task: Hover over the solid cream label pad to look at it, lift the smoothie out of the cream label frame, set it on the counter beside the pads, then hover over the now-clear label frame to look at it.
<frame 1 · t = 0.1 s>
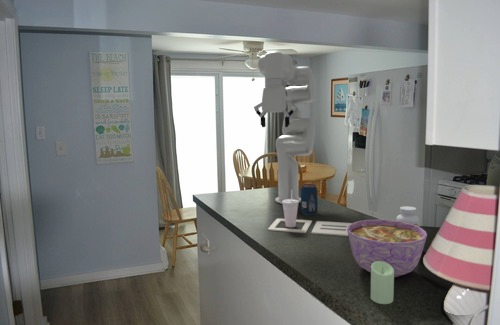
hand: (275, 127, 157), 37 cm above the kitchen counter, tool pointing down, fingers open, 9 cm apart
soda can: (309, 213, 163), on the kitchen counter
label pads: (311, 227, 144), on the kitchen counter
bowl of food: (384, 272, 104), on the kitchen counter
smoothie: (290, 226, 146), resting in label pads
supplement bottle: (407, 248, 121), on the kitchen counter
candle: (381, 299, 89), on the kitchen counter
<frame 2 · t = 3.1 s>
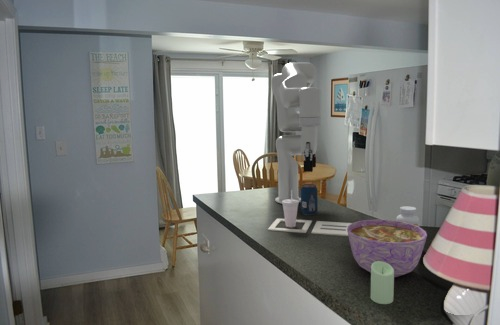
hand: (309, 169, 141), 22 cm above the kitchen counter, tool pointing down, fingers open, 9 cm apart
nothing on the kitchen counter moved.
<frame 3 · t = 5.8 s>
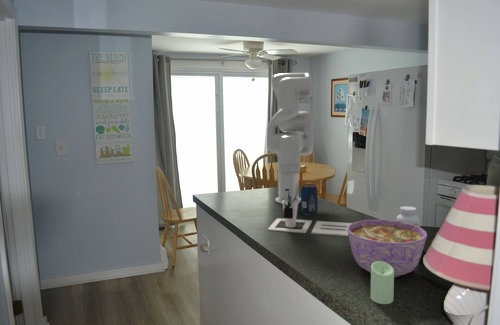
hand: (290, 215, 146), 4 cm above the kitchen counter, tool pointing down, fingers closed on smoothie, 6 cm apart
smoothie: (290, 226, 146), resting in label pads, touching gripper
everything else where it was.
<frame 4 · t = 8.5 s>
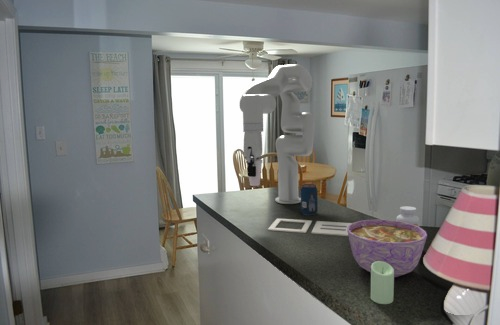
hand: (254, 174, 148), 19 cm above the kitchen counter, tool pointing down, fingers closed on smoothie, 6 cm apart
smoothie: (254, 185, 148), point 15 cm above the kitchen counter, touching gripper
everything else where it was.
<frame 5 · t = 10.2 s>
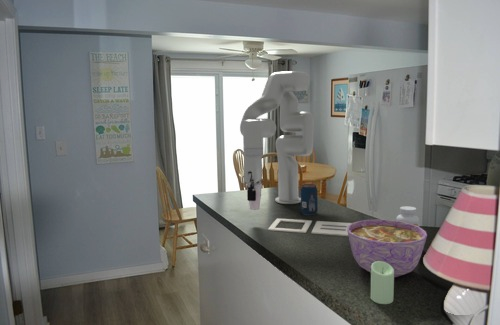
hand: (254, 198, 149), 10 cm above the kitchen counter, tool pointing down, fingers closed on smoothie, 6 cm apart
smoothie: (254, 209, 150), point 6 cm above the kitchen counter, touching gripper
everything else where it was.
when the fingers open (5 cm above the kitchen counter, at t = 11.6 s): smoothie drops 1 cm, on the kitchen counter.
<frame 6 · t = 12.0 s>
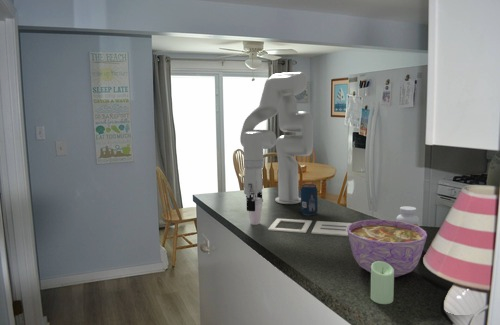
hand: (254, 207, 150), 6 cm above the kitchen counter, tool pointing down, fingers open, 9 cm apart
smoothie: (255, 223, 151), on the kitchen counter
everything else where it was.
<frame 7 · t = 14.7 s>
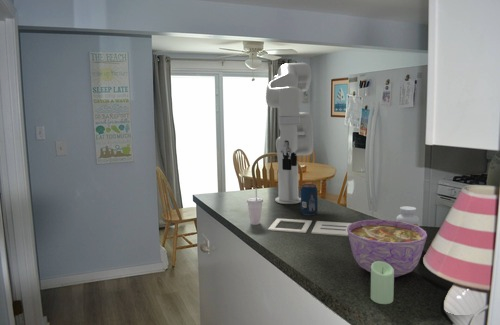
hand: (289, 167, 143), 22 cm above the kitchen counter, tool pointing down, fingers open, 9 cm apart
nothing on the kitchen counter moved.
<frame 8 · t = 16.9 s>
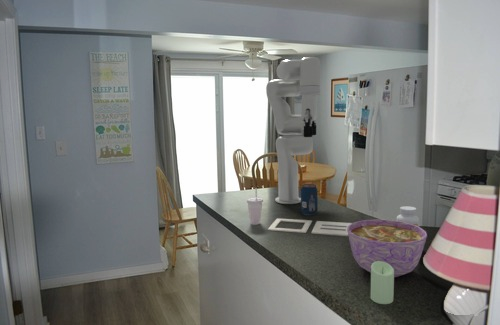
hand: (310, 136, 149), 33 cm above the kitchen counter, tool pointing down, fingers open, 9 cm apart
nothing on the kitchen counter moved.
at the end: smoothie inside the target area (0.1 cm from its centre), on the kitchen counter; smoothie tilted 0°; the gripper is holding nothing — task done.
